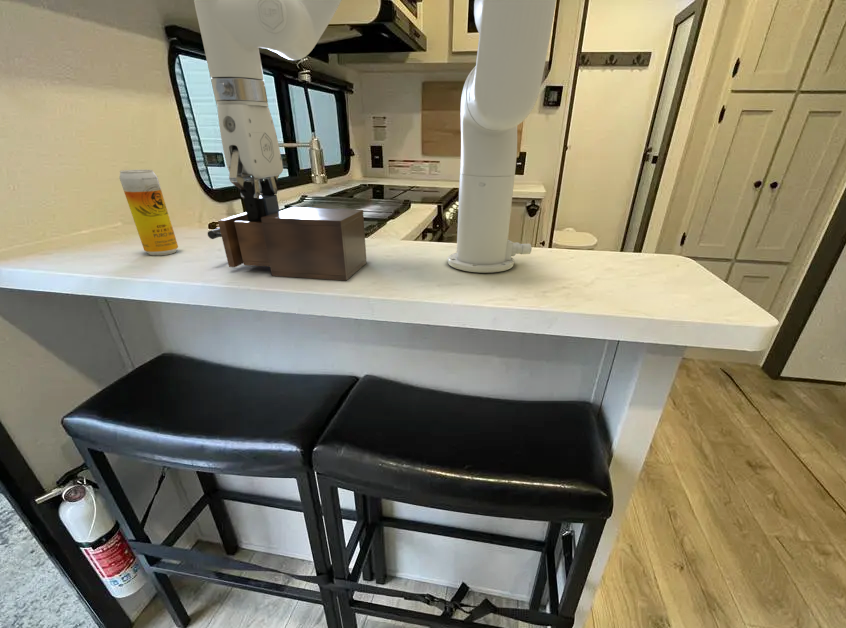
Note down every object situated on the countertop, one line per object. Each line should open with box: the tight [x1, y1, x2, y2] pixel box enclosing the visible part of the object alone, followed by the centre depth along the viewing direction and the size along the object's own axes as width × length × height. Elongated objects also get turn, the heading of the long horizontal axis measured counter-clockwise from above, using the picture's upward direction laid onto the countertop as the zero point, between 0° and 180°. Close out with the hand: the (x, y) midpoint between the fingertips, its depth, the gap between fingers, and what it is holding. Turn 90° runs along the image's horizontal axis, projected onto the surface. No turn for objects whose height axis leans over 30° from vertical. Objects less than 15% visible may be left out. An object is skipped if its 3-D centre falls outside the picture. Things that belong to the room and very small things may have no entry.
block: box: [260, 195, 280, 216], centre depth 72 cm, size 4×4×4 cm
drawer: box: [207, 211, 270, 268], centre depth 75 cm, size 17×10×8 cm, turn 80°
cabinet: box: [261, 206, 368, 282], centre depth 73 cm, size 14×12×10 cm
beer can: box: [119, 169, 179, 256], centre depth 81 cm, size 6×6×15 cm
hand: (265, 219), depth 73 cm, fingers closed on block, 4 cm apart
